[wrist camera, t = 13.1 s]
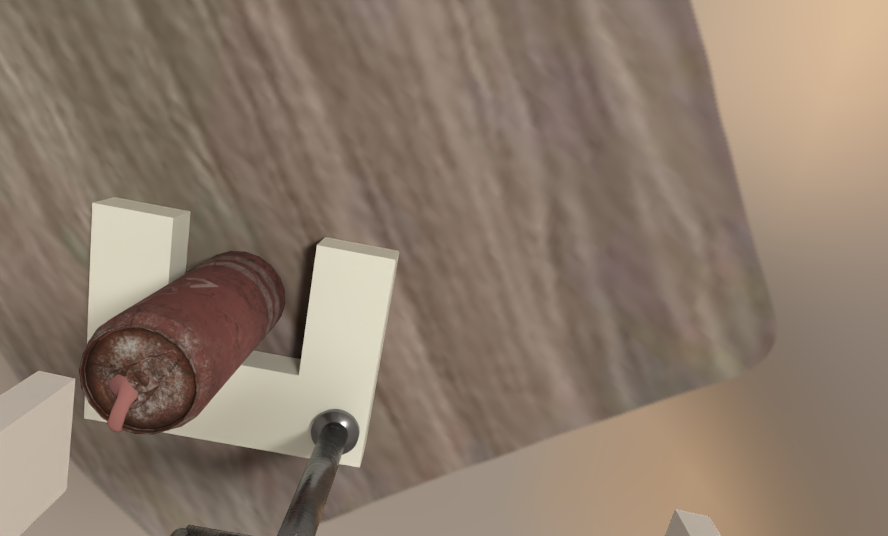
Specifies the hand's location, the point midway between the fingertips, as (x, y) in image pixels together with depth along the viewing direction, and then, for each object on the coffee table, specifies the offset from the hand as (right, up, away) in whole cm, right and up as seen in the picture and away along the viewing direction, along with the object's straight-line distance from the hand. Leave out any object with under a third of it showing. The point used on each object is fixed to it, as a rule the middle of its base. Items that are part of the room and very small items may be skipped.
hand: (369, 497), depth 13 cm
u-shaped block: (-12, +1, +29) cm, 31 cm away
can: (-12, +3, +28) cm, 31 cm away
